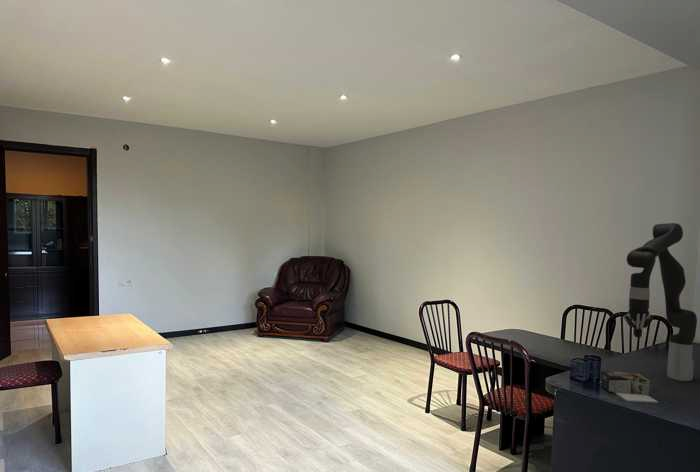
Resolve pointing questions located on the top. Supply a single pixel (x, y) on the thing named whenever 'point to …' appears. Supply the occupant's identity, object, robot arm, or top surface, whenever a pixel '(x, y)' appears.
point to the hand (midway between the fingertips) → (637, 337)
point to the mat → (635, 397)
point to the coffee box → (625, 382)
